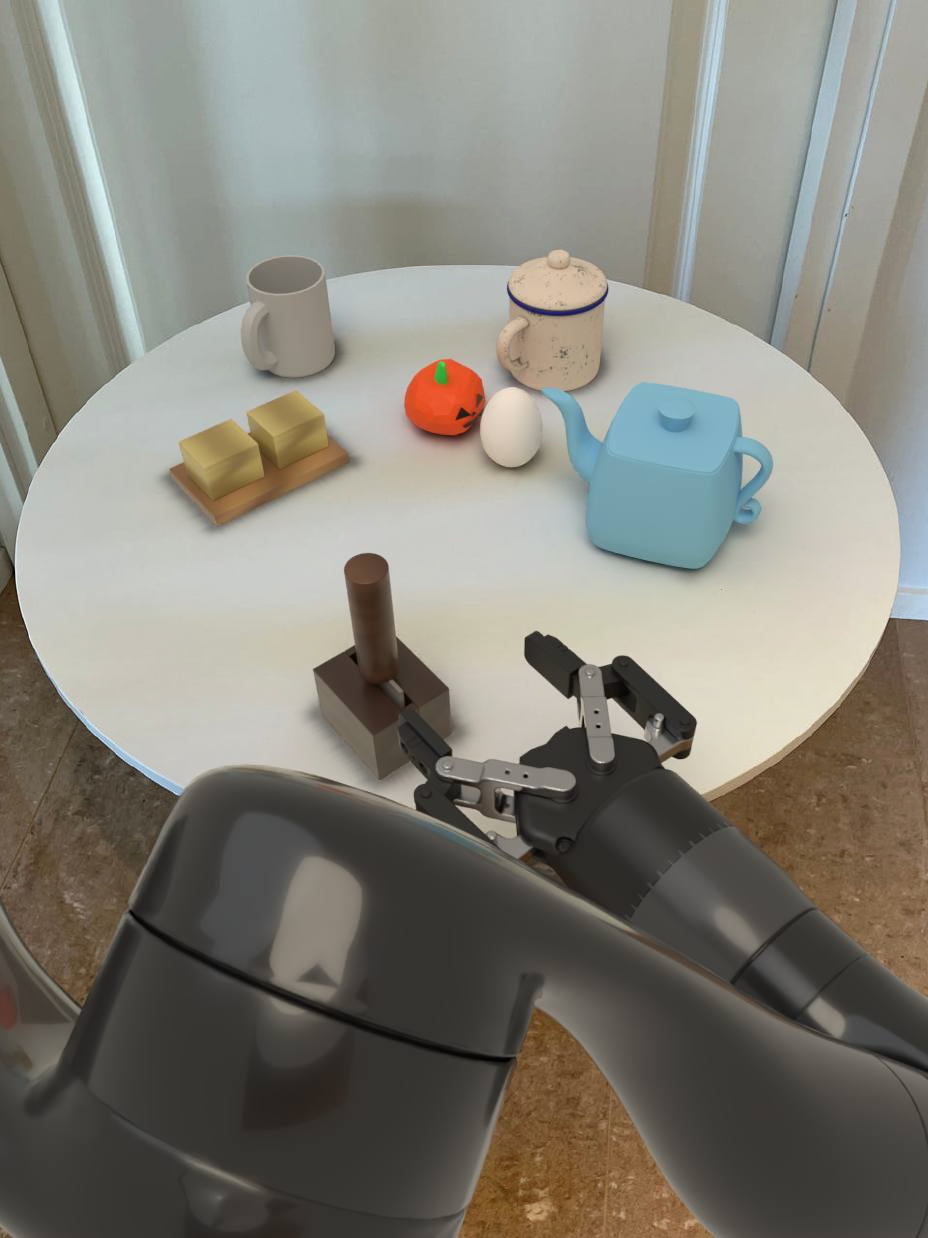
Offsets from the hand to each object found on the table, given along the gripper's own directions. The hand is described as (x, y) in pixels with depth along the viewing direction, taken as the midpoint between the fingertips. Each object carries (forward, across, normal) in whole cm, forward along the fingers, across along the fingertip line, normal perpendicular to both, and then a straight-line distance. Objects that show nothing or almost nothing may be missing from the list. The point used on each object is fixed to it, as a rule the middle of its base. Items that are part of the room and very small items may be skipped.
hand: (468, 681), depth 57 cm
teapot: (+13, -28, +14) cm, 34 cm away
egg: (+26, -25, +14) cm, 38 cm away
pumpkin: (+34, -24, +14) cm, 44 cm away
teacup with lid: (+34, -36, +14) cm, 51 cm away
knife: (+10, 0, +14) cm, 17 cm away
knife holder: (+10, 0, +14) cm, 17 cm away
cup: (+51, -18, +14) cm, 56 cm away
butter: (+39, -7, +14) cm, 42 cm away
